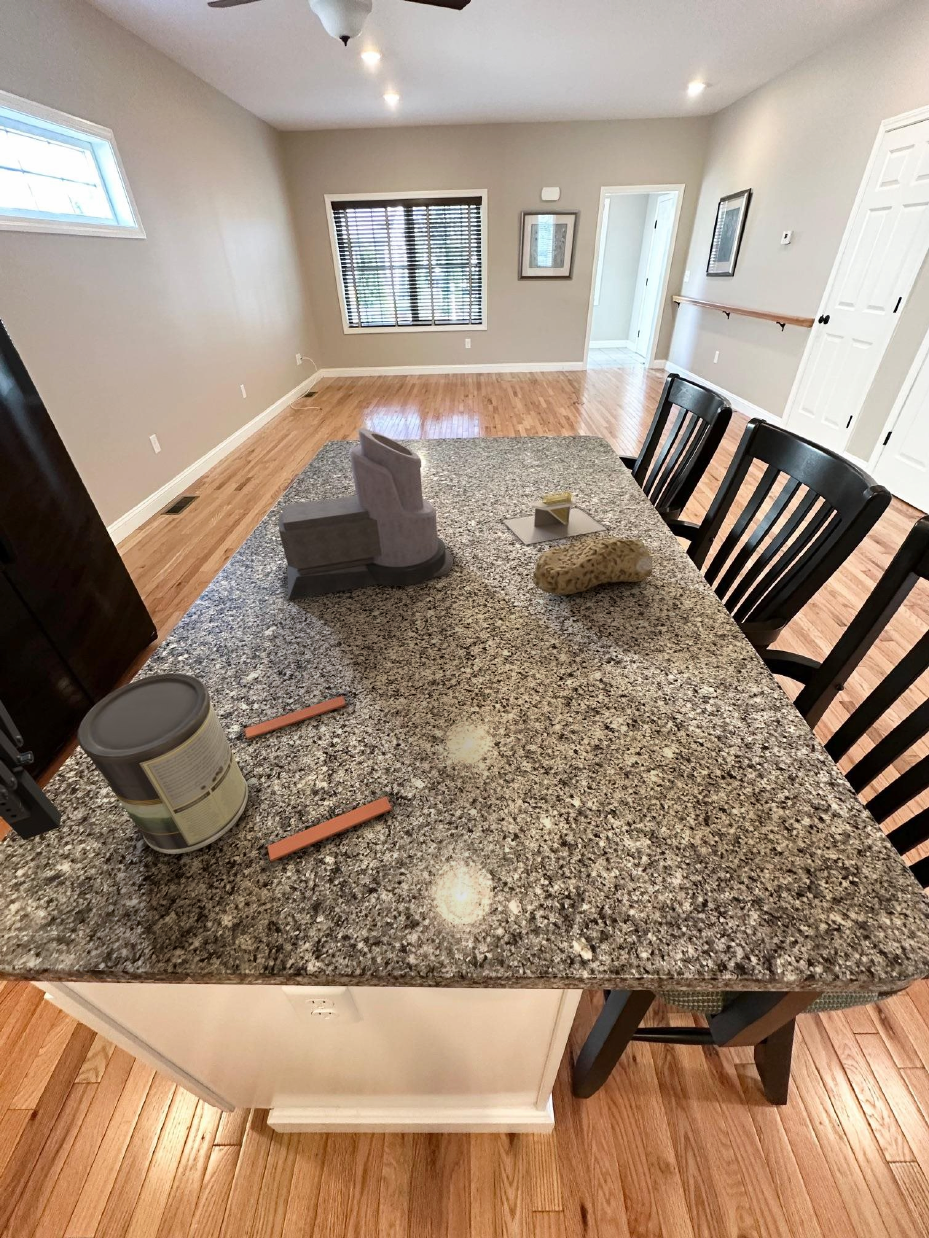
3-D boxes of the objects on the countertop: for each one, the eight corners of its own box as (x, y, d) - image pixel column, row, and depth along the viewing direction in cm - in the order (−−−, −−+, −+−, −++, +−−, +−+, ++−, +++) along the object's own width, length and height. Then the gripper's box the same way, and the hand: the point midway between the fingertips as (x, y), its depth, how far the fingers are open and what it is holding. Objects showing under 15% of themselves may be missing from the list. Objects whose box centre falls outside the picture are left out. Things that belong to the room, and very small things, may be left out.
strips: (270, 861, 48) (270, 860, 48) (245, 730, 62) (244, 728, 62) (391, 809, 52) (391, 808, 52) (342, 697, 66) (342, 695, 66)
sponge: (626, 565, 94) (522, 551, 91) (645, 530, 89) (534, 514, 86) (646, 615, 85) (531, 601, 82) (668, 580, 80) (545, 564, 77)
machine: (440, 537, 103) (432, 409, 89) (463, 575, 91) (458, 433, 77) (286, 562, 97) (252, 428, 83) (288, 606, 84) (247, 457, 70)
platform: (606, 529, 104) (611, 498, 100) (525, 544, 100) (527, 513, 96) (577, 508, 113) (580, 479, 110) (502, 520, 109) (502, 491, 105)
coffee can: (132, 869, 48) (59, 772, 40) (151, 782, 56) (94, 686, 48) (248, 836, 50) (202, 738, 42) (250, 757, 58) (212, 662, 50)
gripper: (-110, 648, 29) (83, 871, 42) (-44, 553, 39) (97, 760, 52) (-298, 692, 26) (-28, 914, 40) (-176, 579, 36) (8, 789, 50)
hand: (43, 827), depth 46 cm, fingers closed
